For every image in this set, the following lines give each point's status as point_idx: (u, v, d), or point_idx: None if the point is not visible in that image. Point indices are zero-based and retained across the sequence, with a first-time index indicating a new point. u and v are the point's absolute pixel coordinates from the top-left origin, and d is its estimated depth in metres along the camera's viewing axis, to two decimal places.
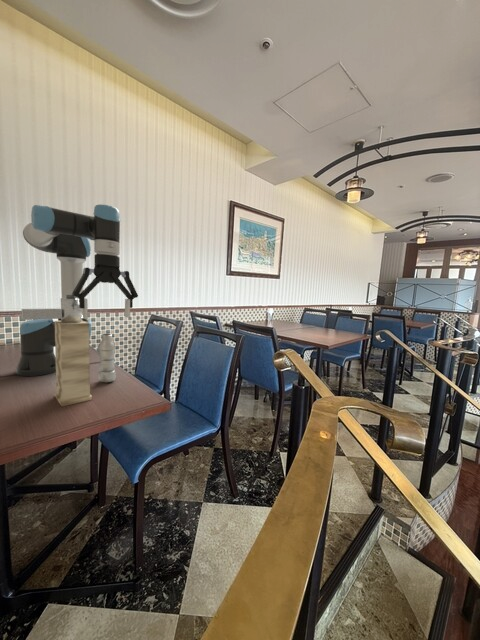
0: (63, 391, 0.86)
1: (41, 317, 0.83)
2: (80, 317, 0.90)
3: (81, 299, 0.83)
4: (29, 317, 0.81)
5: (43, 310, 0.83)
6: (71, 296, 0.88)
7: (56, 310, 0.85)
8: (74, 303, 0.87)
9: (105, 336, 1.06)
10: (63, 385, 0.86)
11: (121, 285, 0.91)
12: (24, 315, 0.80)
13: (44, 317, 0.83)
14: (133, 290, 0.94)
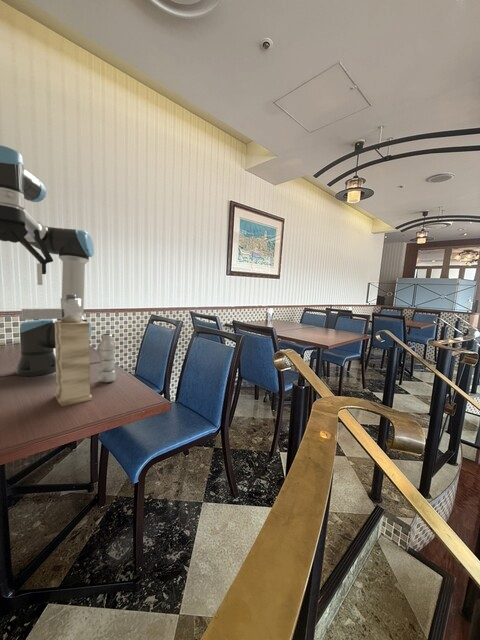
0: (63, 391, 0.86)
1: (41, 317, 0.83)
2: (80, 317, 0.90)
3: None
4: (29, 317, 0.81)
5: (43, 310, 0.83)
6: (71, 296, 0.88)
7: (56, 310, 0.85)
8: (74, 303, 0.87)
9: (105, 336, 1.06)
10: (63, 385, 0.86)
11: (28, 245, 0.77)
12: (24, 315, 0.80)
13: (44, 317, 0.83)
14: (46, 253, 0.81)
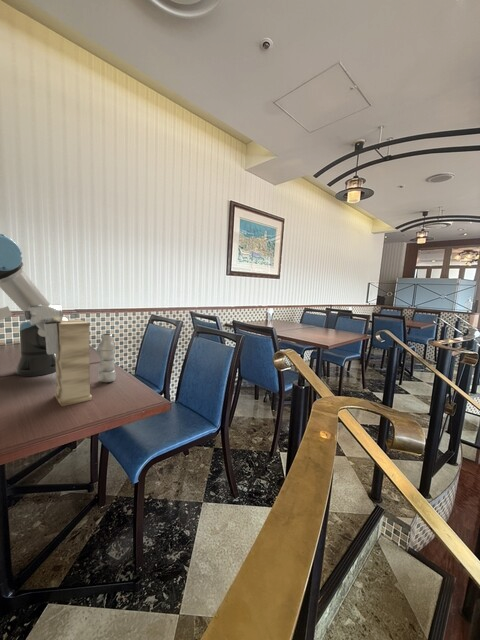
0: (63, 391, 0.86)
1: (56, 339, 0.86)
2: (55, 307, 0.84)
3: None
4: (57, 348, 0.86)
5: (48, 339, 0.84)
6: (27, 316, 0.80)
7: (47, 328, 0.84)
8: (37, 315, 0.81)
9: (105, 336, 1.06)
10: (63, 385, 0.86)
11: None
12: (54, 352, 0.86)
13: (56, 337, 0.86)
14: None
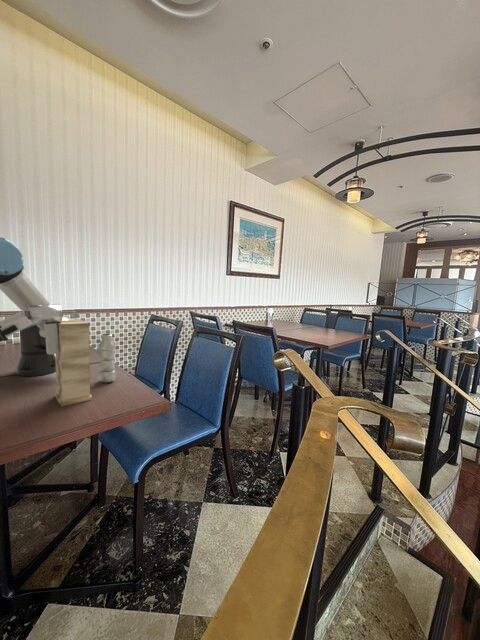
0: (63, 391, 0.86)
1: (56, 339, 0.86)
2: (55, 307, 0.84)
3: None
4: (57, 348, 0.86)
5: (48, 339, 0.84)
6: (27, 316, 0.80)
7: (47, 328, 0.84)
8: (37, 315, 0.81)
9: (105, 336, 1.06)
10: (63, 385, 0.86)
11: None
12: (54, 352, 0.86)
13: (56, 337, 0.86)
14: None
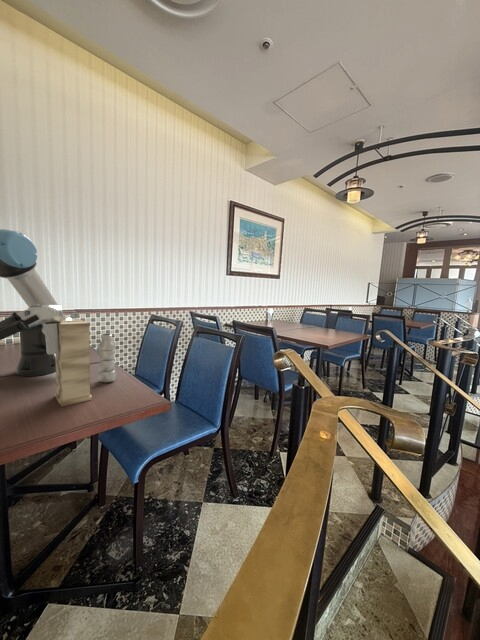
0: (63, 391, 0.86)
1: (56, 339, 0.86)
2: (55, 307, 0.84)
3: None
4: (57, 348, 0.86)
5: (48, 339, 0.84)
6: None
7: (47, 328, 0.84)
8: None
9: (105, 336, 1.06)
10: (63, 385, 0.86)
11: None
12: (54, 352, 0.86)
13: (56, 337, 0.86)
14: None
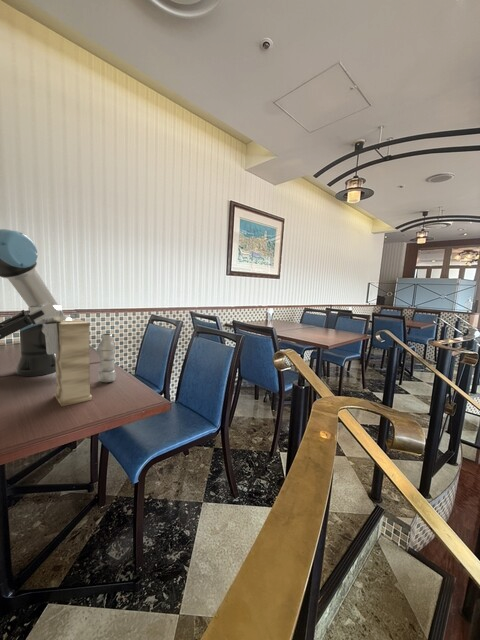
0: (63, 391, 0.86)
1: (56, 339, 0.86)
2: (55, 307, 0.84)
3: None
4: (57, 348, 0.86)
5: (48, 339, 0.84)
6: None
7: (47, 328, 0.84)
8: None
9: (105, 336, 1.06)
10: (63, 385, 0.86)
11: None
12: (54, 352, 0.86)
13: (56, 337, 0.86)
14: None
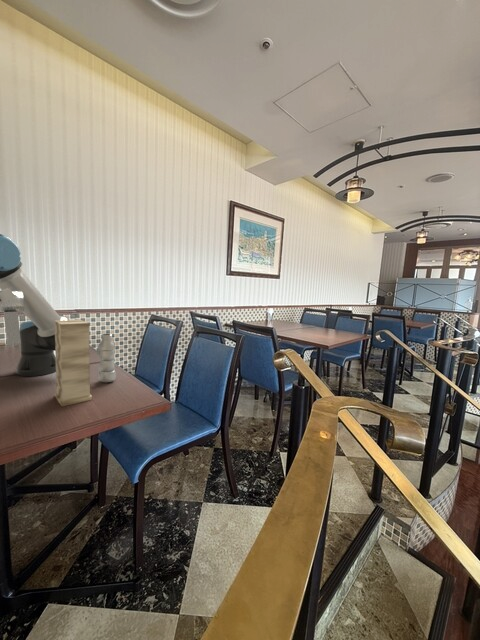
0: (63, 391, 0.86)
1: (17, 329, 0.79)
2: (15, 294, 0.77)
3: None
4: (18, 339, 0.79)
5: (7, 328, 0.77)
6: None
7: (6, 317, 0.77)
8: None
9: (105, 336, 1.06)
10: (63, 385, 0.86)
11: None
12: (15, 343, 0.79)
13: (17, 327, 0.79)
14: None
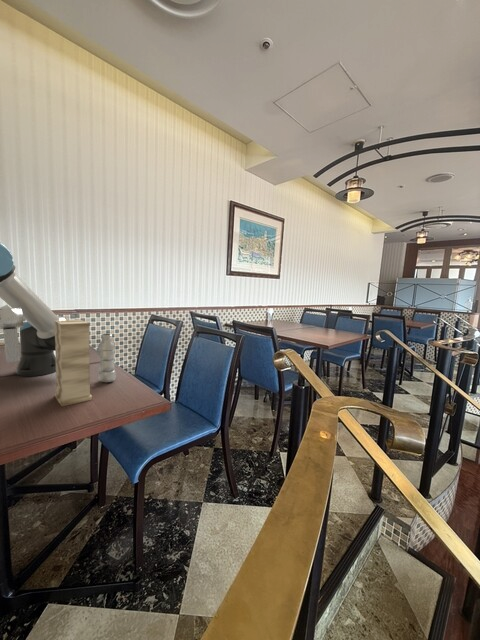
0: (63, 391, 0.86)
1: (16, 346, 0.79)
2: (14, 311, 0.78)
3: None
4: (17, 355, 0.80)
5: (6, 345, 0.78)
6: None
7: (5, 334, 0.77)
8: None
9: (105, 336, 1.06)
10: (63, 385, 0.86)
11: None
12: (14, 360, 0.79)
13: (16, 344, 0.79)
14: None
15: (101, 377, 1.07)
